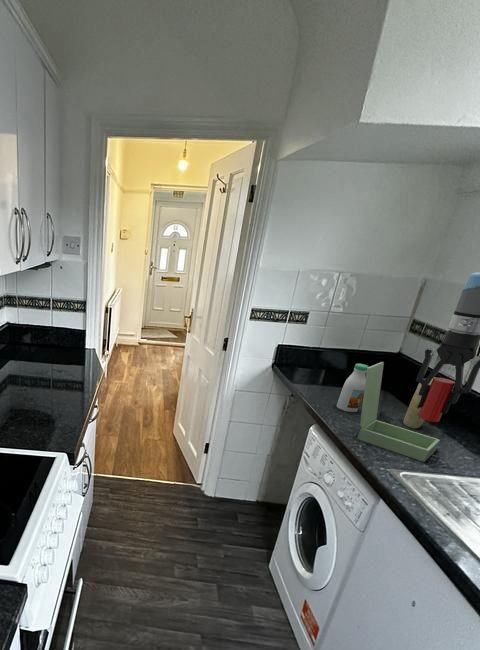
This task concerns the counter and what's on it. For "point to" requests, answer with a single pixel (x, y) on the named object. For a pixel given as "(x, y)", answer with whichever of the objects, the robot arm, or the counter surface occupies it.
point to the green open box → (399, 440)
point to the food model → (414, 410)
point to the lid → (371, 393)
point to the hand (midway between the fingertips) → (432, 409)
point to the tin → (436, 399)
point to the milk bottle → (353, 389)
